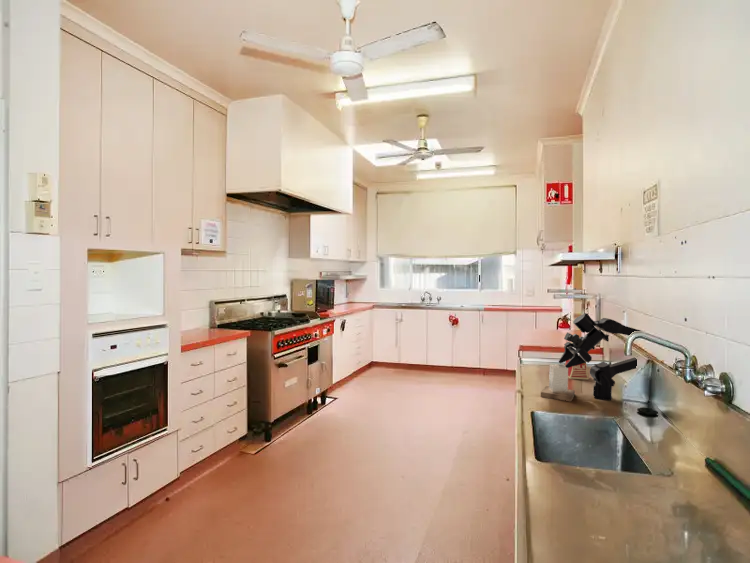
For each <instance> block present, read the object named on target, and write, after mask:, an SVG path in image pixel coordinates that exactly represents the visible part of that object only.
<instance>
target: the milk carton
mask: <svg viewBox="0 0 750 563" xmlns="http://www.w3.org/2000/svg"><path fill="white" fill-rule="evenodd" d="M570 360H571V359H570ZM570 360H567V361H565V364H564V365H565V366H566V364H567V363H568V362H569V361H570ZM585 362H586V361H585ZM588 374H589V373H588V365H587V362H586V363H583V364H579V365H576V366H572V367H569V368H568V379H569V380H570V379H571V380H573V379H574V380H589V375H588Z"/></svg>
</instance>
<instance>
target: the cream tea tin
mask: <svg viewBox="0 0 750 563" xmlns="http://www.w3.org/2000/svg"><path fill="white" fill-rule="evenodd" d="M548 374H549V376H548V377H549V378H548V386H549V390H550V391H551V392H553V393H567V389H569V388H568V384H569V377H568V368H566V367H565V364H556V363H555V364H549V372H548Z"/></svg>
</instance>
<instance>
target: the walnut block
mask: <svg viewBox="0 0 750 563" xmlns="http://www.w3.org/2000/svg"><path fill="white" fill-rule="evenodd" d="M575 392H576V390H575V389H569V388H567V393H553V392H551V391H550V390H549V385H545V387H543V389H542V390H541V391H540V397H542V398H546V399H547V398H548V399H552V398H554V399H553V400H558V399H560V400H559V401H565V400H566V401H567V402H572V400H573V399H574V397H575V395H576V394H575Z"/></svg>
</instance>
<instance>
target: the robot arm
mask: <svg viewBox="0 0 750 563" xmlns="http://www.w3.org/2000/svg"><path fill="white" fill-rule="evenodd" d="M572 322H573V324H574V326H575V327H576V328H578V329H579V331H580V332H582V333H583V334H585V333H586V334H585V335H584V336H580V335H579V334H577V333H573V334H572V333H570V332H566V334H565V335H564V337H563V339H564V340H565V341H567V342H566V343H564V344H563V345H564V347H563V348H564V351H563V354H562V355H561V357H560V358H559V360H558V363H559V364H563V363H564V362H566V361H567V360H570V359H571V360H570V361H569V362H568V363H567V364H566V366H565V367H566V368H569V367H572V366H576V365H579V364H583V363H586V364H587V363H591V361H592V359H593V358H592V356H591V355H590V354H589V352H590V351H591V350H595V349H596V347H595V346H596V345H598V344H599V343H600V342H601V341H602V340H604V341H605V342H609V340H610V339H609V337H610V336H609V334H620V335H624V336H629V335H630V334H631V333H632V332H634V331H642V330H641V329H636V328H633V327H630V326H627V325H624V324H623V323H620V322H618V321H616V320H614V319H612V318H609V317H608V318H607V317H602V318H600V320H593V319H592V318H591V317H590V314H588V313H586V312H584V313H583V314H581V315H578V316H576V318H575V319H574V320H572ZM604 332H606V333H609V334H605V333H604ZM629 337H630V336H629ZM635 357H636V356H635ZM635 357H632V358H629V359H625V360H621V361H617V362H614V363H611V364H609V363H608V362H605V361H601V362H599V363H594V365H591V367H590V369H589V375H590V376H591V377H592V378H593V380H594V382H595V383H594V385H593V392H592V395H593V399H597V400H598V399H599V400H605V401H612V399H613V396H612V394H613V392H612V390H613V387H615V383H616V381H615V380H614V379H613V378H614V377H615V376H616V375H618V374H621V373H625V372H628V371H632V370H636V369H637V368H636V366H637V359H636V358H635ZM585 361H586V362H585Z"/></svg>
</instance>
